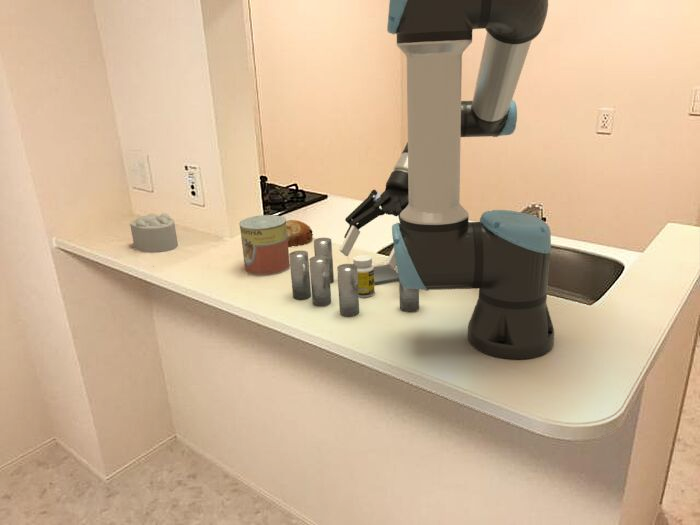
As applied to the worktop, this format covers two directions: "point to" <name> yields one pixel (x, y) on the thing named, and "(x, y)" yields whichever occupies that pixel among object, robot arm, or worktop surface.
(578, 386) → the worktop surface
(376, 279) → the mat
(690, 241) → the worktop surface
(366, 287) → the supplement bottle
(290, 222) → the bread roll
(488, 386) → the worktop surface
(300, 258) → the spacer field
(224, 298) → the worktop surface
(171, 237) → the lumpy-topped squat cylinder
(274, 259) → the canned food
